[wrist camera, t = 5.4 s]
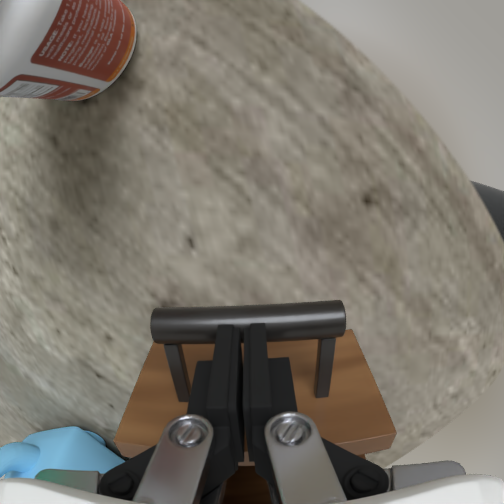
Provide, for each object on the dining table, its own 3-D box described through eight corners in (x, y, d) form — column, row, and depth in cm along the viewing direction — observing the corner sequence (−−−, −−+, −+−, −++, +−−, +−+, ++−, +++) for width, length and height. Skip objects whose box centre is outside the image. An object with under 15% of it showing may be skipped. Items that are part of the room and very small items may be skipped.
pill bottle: (110, -17, 11) (-5, -107, 1) (161, 49, 13) (29, -51, 2) (31, 54, 12) (-113, 34, 2) (72, 125, 14) (-100, 144, 4)
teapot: (189, 453, 23) (169, 587, 11) (160, 506, 28) (145, 591, 16) (9, 374, 21) (-60, 473, 8) (29, 451, 26) (-6, 525, 14)
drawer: (139, 262, 16) (68, 354, 9) (359, 252, 16) (430, 341, 8) (191, 454, 22) (179, 533, 15) (329, 449, 22) (345, 528, 14)
